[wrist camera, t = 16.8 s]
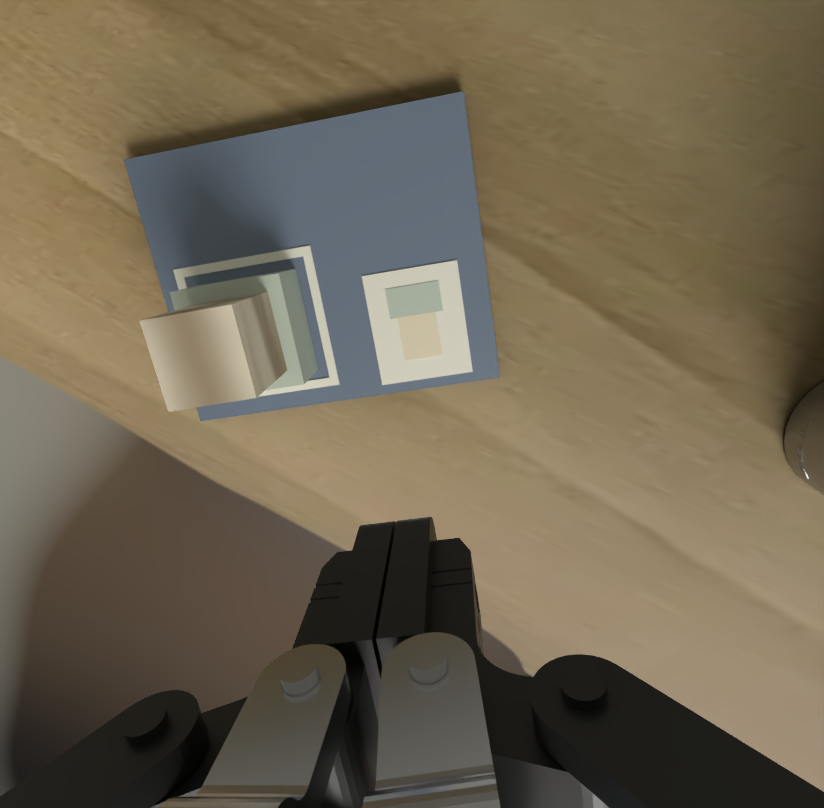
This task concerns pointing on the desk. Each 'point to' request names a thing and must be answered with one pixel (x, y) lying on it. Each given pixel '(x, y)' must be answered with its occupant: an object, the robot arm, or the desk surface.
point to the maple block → (215, 351)
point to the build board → (339, 243)
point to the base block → (285, 312)
